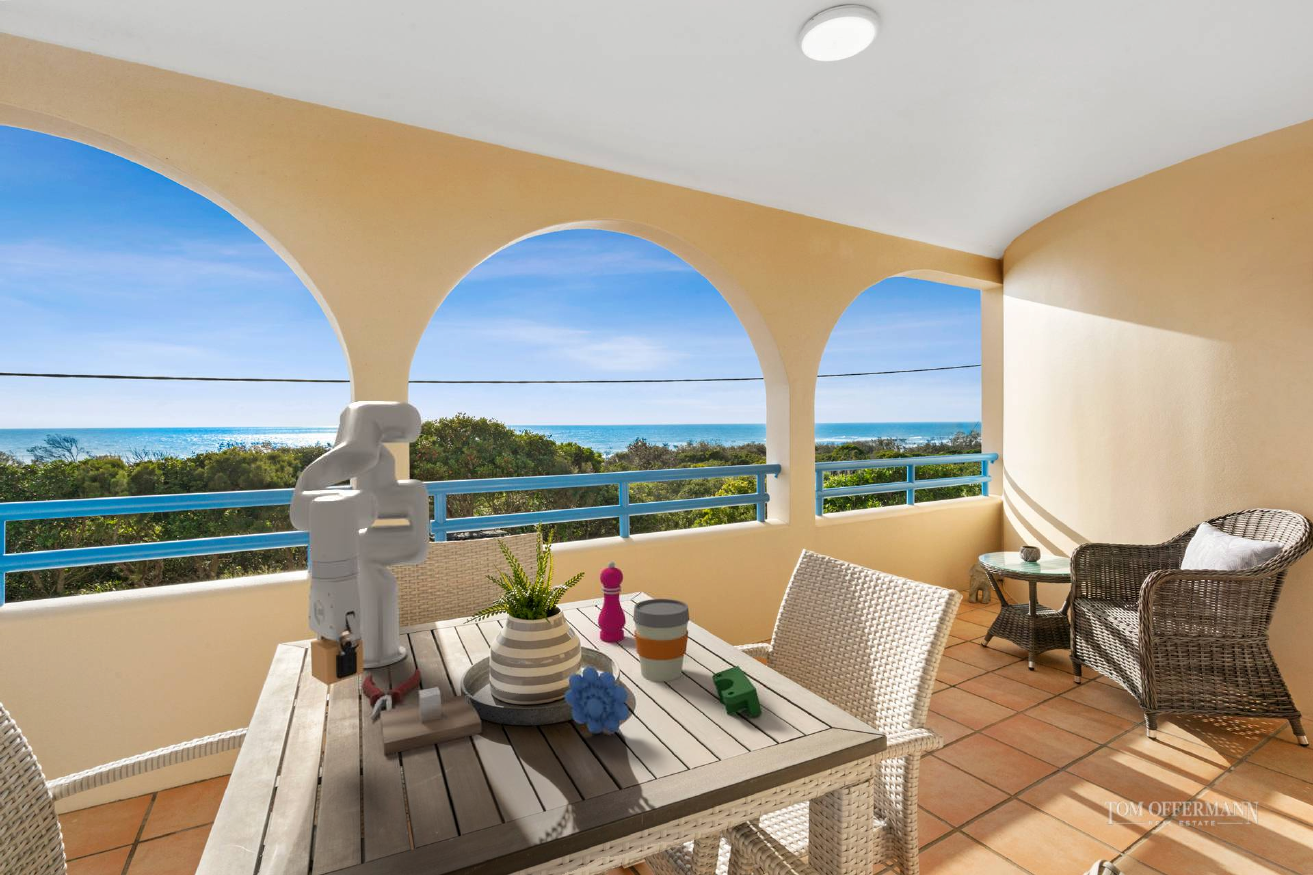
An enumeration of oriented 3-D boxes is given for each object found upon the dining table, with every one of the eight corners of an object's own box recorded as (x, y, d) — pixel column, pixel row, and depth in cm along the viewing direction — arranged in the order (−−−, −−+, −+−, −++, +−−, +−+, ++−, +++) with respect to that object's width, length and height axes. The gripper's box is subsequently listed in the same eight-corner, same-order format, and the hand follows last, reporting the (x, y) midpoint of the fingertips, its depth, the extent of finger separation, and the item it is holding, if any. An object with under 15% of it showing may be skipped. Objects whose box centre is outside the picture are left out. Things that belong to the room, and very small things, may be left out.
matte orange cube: (311, 675, 105) (310, 641, 105) (346, 664, 110) (346, 631, 110) (327, 685, 102) (326, 649, 101) (363, 673, 106) (362, 639, 106)
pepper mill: (601, 632, 163) (601, 558, 163) (628, 633, 162) (627, 558, 162) (595, 642, 156) (594, 564, 156) (622, 643, 155) (622, 565, 155)
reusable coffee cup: (690, 663, 142) (690, 599, 142) (688, 686, 130) (688, 615, 129) (637, 661, 143) (636, 597, 143) (629, 683, 131) (629, 614, 131)
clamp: (724, 720, 124) (709, 674, 127) (751, 711, 124) (736, 665, 127) (734, 725, 112) (718, 674, 115) (764, 714, 113) (747, 664, 116)
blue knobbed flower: (559, 744, 106) (559, 676, 106) (567, 725, 113) (567, 661, 113) (626, 746, 105) (626, 677, 105) (630, 727, 112) (630, 662, 112)
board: (380, 721, 115) (380, 687, 114) (468, 703, 122) (468, 671, 122) (384, 754, 103) (383, 716, 103) (481, 732, 110) (481, 697, 110)
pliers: (346, 728, 113) (346, 714, 113) (365, 684, 133) (365, 672, 132) (412, 719, 116) (412, 706, 116) (421, 678, 136) (421, 666, 136)
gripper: (290, 564, 107) (293, 664, 108) (336, 581, 97) (338, 692, 98) (334, 556, 113) (336, 651, 114) (382, 571, 103) (384, 676, 104)
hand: (337, 669), depth 106 cm, fingers closed on matte orange cube, 6 cm apart
